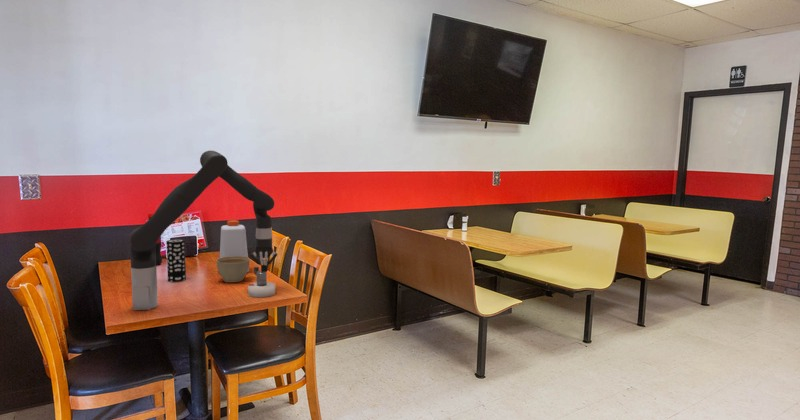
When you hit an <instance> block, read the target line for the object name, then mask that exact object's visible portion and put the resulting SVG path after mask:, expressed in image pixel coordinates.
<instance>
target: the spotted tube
mask: <svg viewBox="0 0 800 420" xmlns="http://www.w3.org/2000/svg"><path fill="white" fill-rule="evenodd" d="M165 242H166V244H165V245H166V265H167V266H166V269H167V282H170V283H178V282H179V283H180V282H184V281H186V279H187V271H186V270H187V269H186V268H187V267H186V241H185V239H178V238H177V239H169V240H166V241H165Z"/></svg>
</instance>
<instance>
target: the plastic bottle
mask: <svg viewBox="0 0 800 420" xmlns="http://www.w3.org/2000/svg"><path fill="white" fill-rule="evenodd" d="M246 233H247V231H246V226H245V225H244V224H240V221H239V220H235V219H234V220H233V219H231V220H227V221H226V224H225V225H221V227H220V242H219V258H222V257H229V256H243V257H248V258H249V254H248V240H247V234H246ZM249 272H250V267H249V268H248V271H247V273H249Z"/></svg>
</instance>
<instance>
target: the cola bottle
mask: <svg viewBox="0 0 800 420" xmlns="http://www.w3.org/2000/svg"><path fill="white" fill-rule="evenodd" d="M154 213H155V212H148V213H147V218H148V220H149V219H150V218H151V217H152V216H153V215H154ZM148 220H147V221H148ZM161 251H162V235H161V236H160V237H159V239H158V240H157V241H156V267H157V265H158V266H160V265H161V264H162V263H163V256H162V254H161Z"/></svg>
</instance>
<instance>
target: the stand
mask: <svg viewBox="0 0 800 420" xmlns="http://www.w3.org/2000/svg"><path fill="white" fill-rule="evenodd" d="M247 295H248V296H249V297H252V298H258V299H260V298H268V297H271V296H274V295H276V283H275V282H271V281H267V285H265V286H257V281H256V282H252V283H248V286H247Z"/></svg>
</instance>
